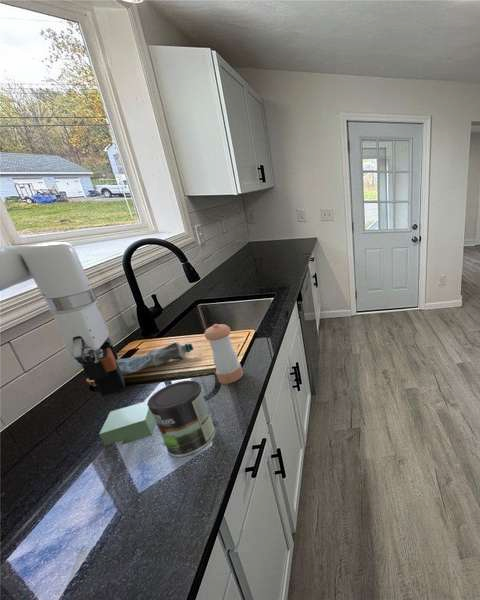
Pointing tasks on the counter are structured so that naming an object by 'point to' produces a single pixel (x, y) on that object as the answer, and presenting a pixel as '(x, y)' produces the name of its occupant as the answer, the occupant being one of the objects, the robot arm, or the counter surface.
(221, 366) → the pepper shaker
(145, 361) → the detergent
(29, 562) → the counter surface
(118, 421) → the block
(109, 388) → the battery
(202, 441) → the coffee can
